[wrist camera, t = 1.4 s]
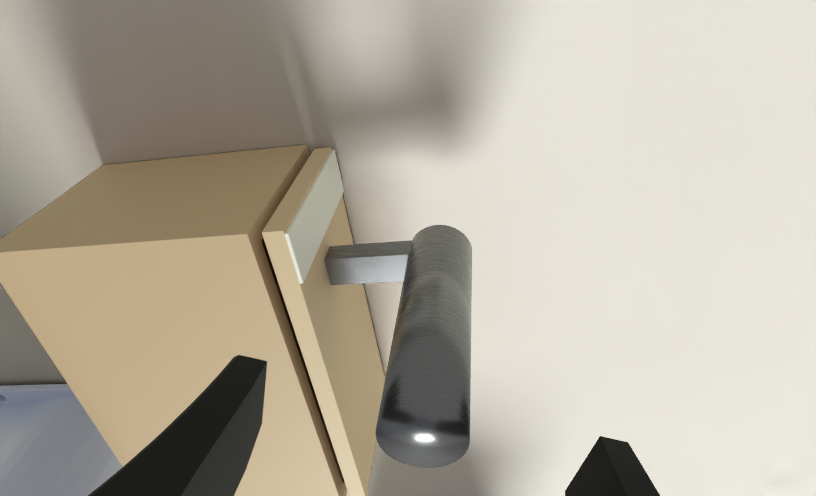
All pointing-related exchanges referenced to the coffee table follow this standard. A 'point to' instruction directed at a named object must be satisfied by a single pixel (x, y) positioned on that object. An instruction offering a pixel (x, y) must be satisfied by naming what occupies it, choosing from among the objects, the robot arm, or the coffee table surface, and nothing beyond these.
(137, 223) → the carton
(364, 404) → the wooden box lid
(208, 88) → the coffee table surface
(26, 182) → the coffee table surface
